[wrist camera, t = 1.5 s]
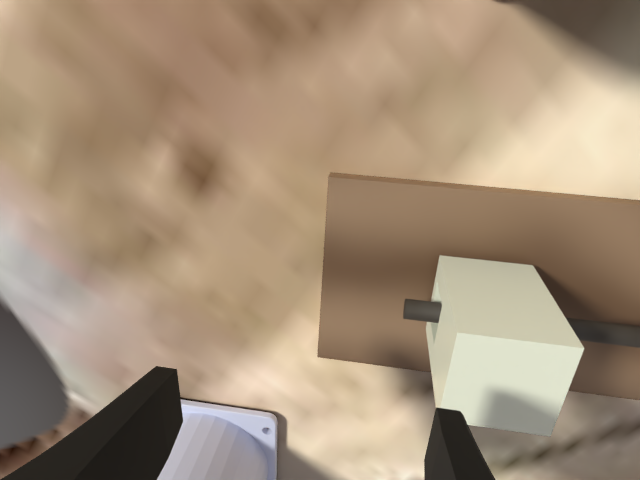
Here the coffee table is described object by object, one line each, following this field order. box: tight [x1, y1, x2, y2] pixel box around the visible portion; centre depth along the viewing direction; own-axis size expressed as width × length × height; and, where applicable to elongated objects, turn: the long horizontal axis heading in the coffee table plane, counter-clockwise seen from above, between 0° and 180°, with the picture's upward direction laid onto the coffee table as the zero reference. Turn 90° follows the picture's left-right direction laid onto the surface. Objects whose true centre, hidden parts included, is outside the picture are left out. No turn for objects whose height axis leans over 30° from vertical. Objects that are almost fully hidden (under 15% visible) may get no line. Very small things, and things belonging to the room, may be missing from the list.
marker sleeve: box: [426, 255, 584, 437], centre depth 16 cm, size 4×4×5 cm
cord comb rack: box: [318, 173, 640, 400], centre depth 16 cm, size 9×20×7 cm, turn 87°
